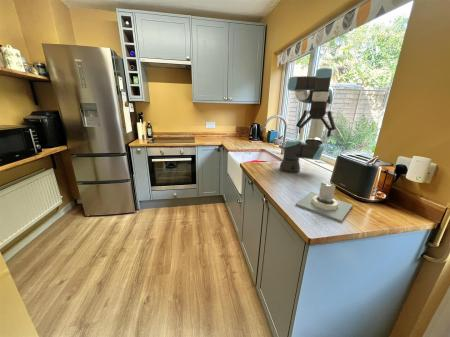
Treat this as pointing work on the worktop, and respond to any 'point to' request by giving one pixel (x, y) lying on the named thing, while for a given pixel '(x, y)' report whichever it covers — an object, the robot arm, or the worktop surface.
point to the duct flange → (325, 207)
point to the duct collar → (326, 193)
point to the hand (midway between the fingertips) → (312, 141)
